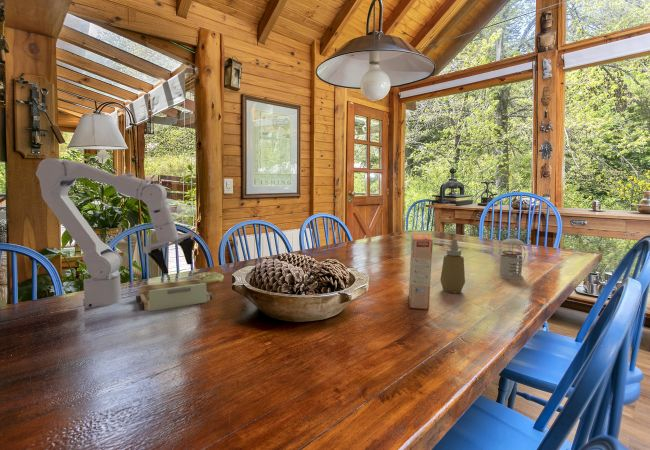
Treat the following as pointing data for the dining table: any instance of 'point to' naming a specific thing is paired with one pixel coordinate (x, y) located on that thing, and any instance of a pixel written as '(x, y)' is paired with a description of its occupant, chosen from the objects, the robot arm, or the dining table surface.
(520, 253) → the french press
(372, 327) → the dining table surface
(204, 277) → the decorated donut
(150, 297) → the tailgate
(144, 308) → the cart
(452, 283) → the squeeze bottle
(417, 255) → the cracker box
